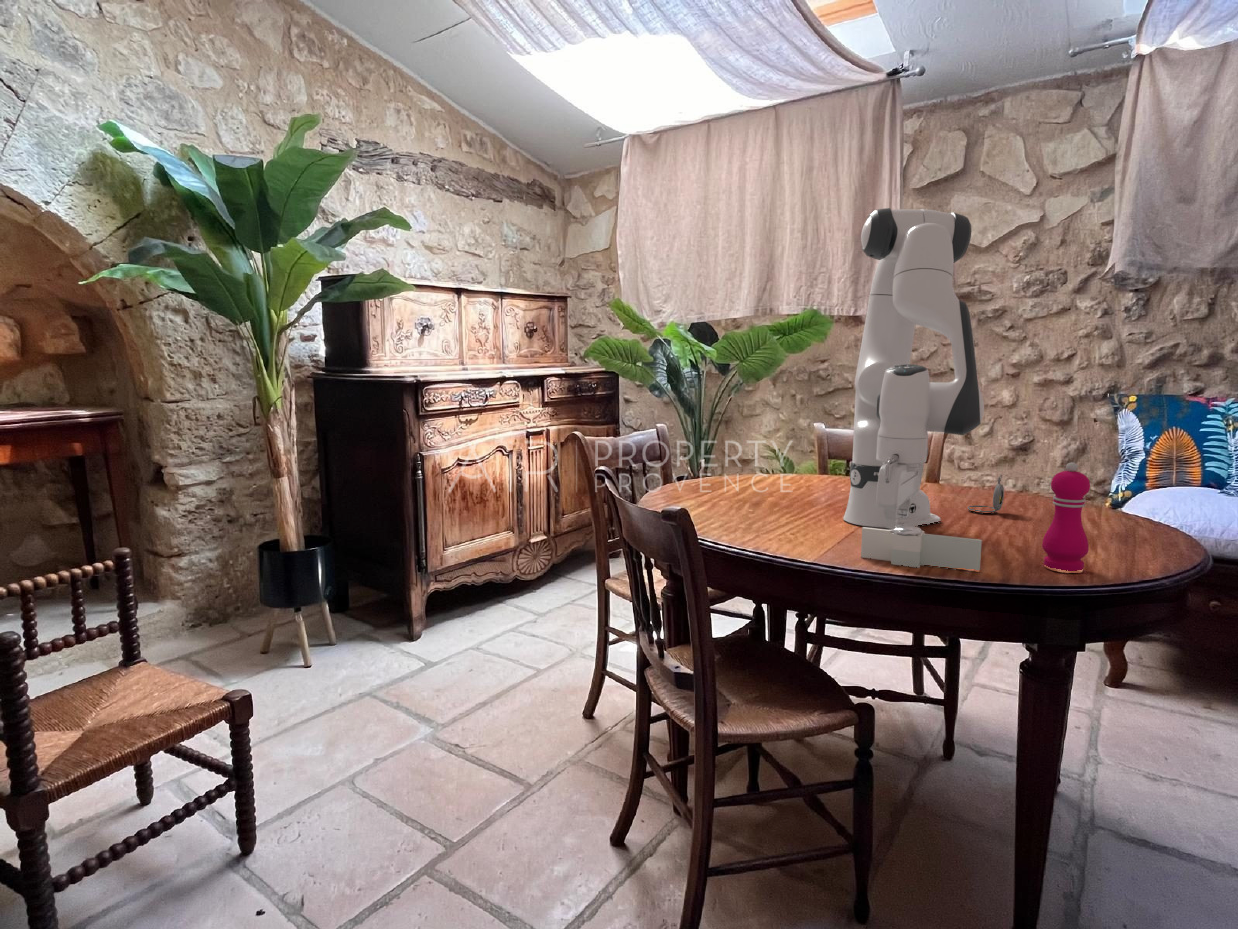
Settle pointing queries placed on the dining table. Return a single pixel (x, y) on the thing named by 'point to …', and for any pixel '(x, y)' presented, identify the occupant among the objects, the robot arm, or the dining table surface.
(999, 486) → the pocket watch
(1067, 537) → the pepper mill
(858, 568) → the dining table surface
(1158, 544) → the dining table surface
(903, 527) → the hinge pin
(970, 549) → the hinge
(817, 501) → the dining table surface
